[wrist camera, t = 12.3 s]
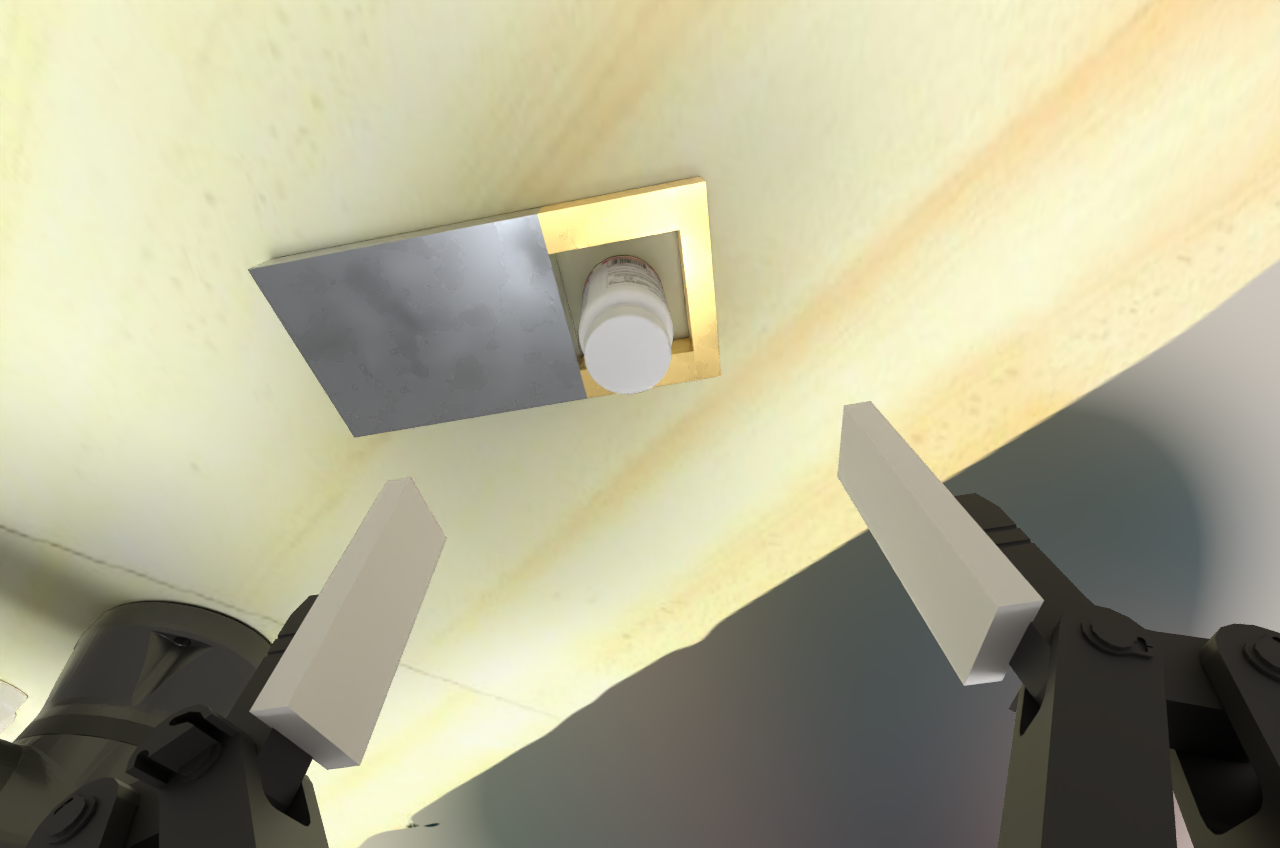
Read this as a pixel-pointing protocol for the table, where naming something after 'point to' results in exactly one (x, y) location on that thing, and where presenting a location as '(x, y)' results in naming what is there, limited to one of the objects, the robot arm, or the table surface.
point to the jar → (9, 703)
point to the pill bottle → (625, 326)
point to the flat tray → (478, 309)
